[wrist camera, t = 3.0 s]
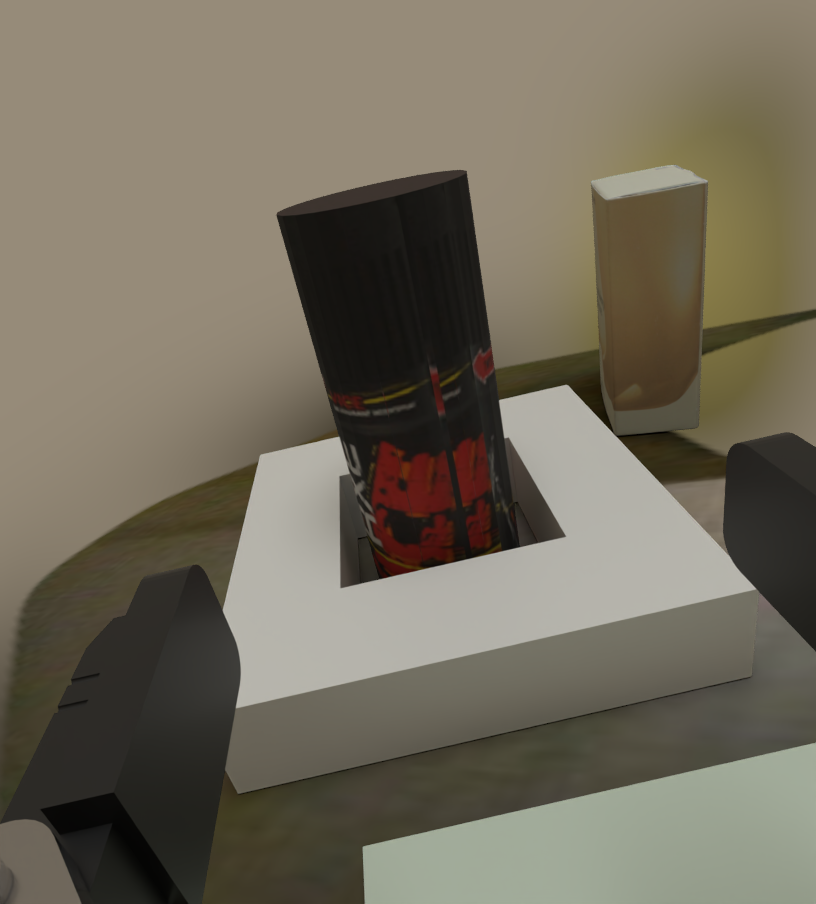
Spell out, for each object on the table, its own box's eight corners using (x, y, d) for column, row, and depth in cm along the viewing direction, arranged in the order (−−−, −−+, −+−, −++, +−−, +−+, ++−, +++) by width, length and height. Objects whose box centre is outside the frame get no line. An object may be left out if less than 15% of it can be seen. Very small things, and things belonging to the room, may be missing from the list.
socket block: (572, 444, 33) (567, 384, 31) (751, 676, 19) (759, 588, 17) (280, 511, 33) (260, 454, 31) (238, 794, 19) (196, 717, 17)
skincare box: (599, 391, 38) (587, 178, 32) (674, 382, 37) (675, 161, 31) (614, 440, 32) (602, 195, 27) (702, 432, 31) (710, 175, 26)
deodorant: (353, 588, 26) (239, 221, 19) (444, 515, 29) (375, 181, 23) (460, 646, 22) (365, 207, 15) (551, 554, 25) (506, 162, 19)
